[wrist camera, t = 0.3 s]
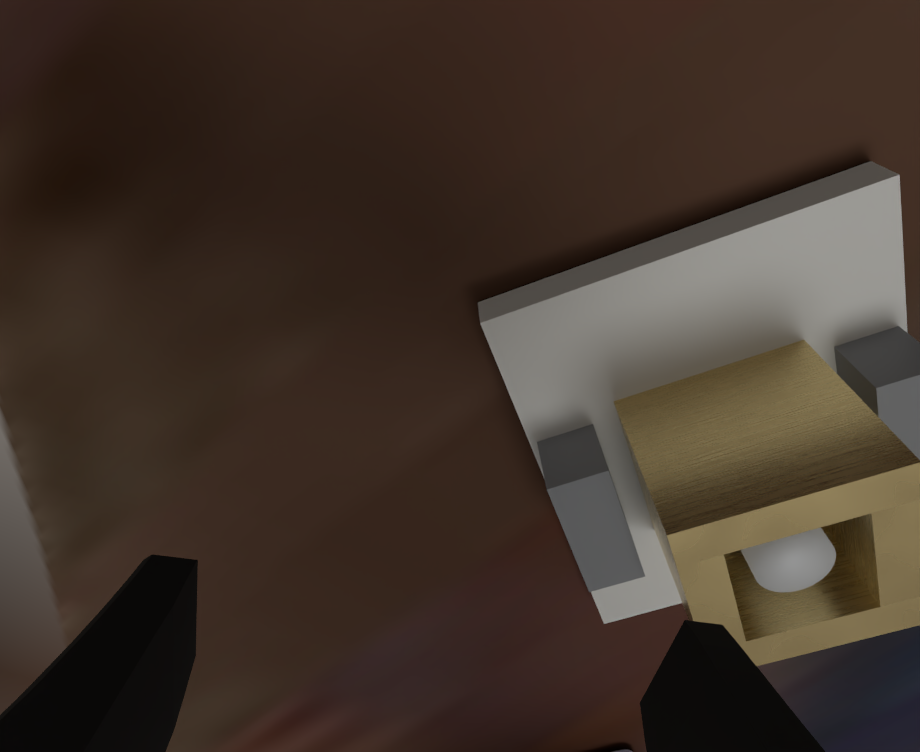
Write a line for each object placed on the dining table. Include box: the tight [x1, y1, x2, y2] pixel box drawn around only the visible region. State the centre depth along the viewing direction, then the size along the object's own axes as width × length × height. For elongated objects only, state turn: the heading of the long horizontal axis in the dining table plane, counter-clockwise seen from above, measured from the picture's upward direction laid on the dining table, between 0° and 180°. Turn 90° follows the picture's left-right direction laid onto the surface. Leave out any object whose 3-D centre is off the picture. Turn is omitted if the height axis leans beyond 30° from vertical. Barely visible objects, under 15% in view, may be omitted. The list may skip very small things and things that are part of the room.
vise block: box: [478, 161, 920, 624], centre depth 18 cm, size 12×10×6 cm
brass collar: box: [613, 340, 920, 666], centre depth 17 cm, size 5×5×5 cm
